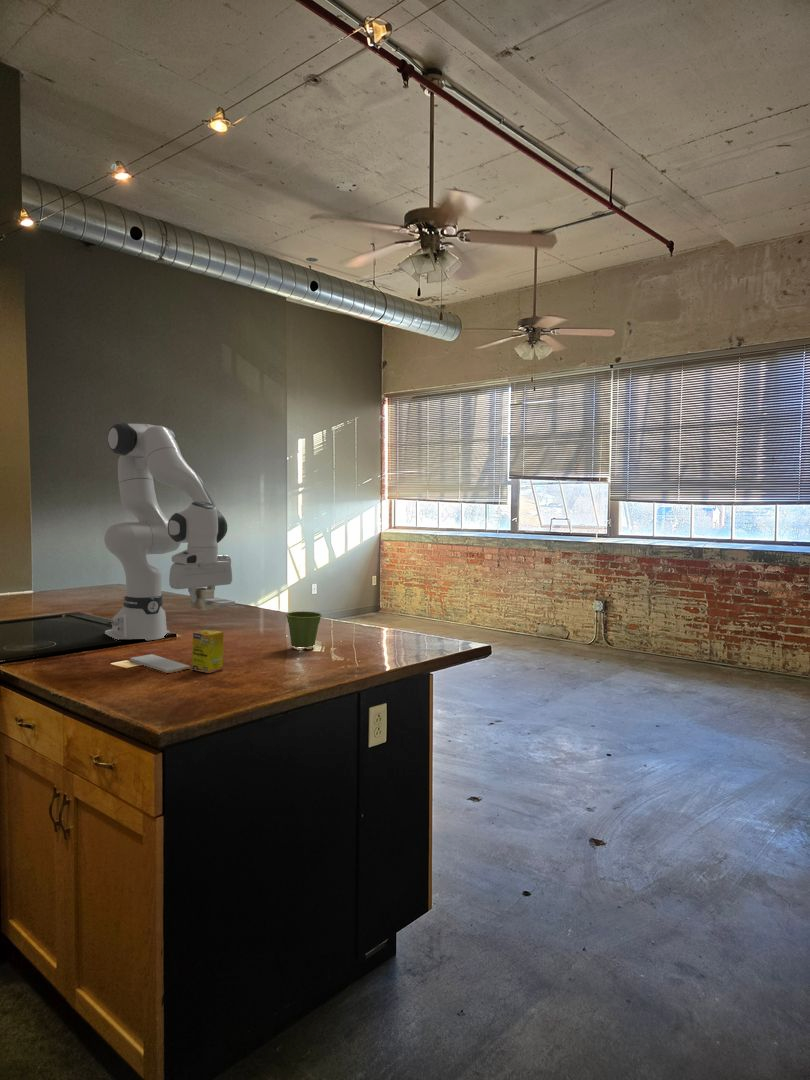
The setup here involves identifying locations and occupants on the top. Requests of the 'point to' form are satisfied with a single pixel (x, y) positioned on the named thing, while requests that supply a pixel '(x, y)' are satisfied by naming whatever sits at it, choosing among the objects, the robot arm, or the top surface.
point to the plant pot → (303, 627)
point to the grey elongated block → (209, 600)
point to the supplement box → (207, 650)
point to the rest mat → (159, 663)
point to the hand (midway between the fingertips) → (201, 601)
